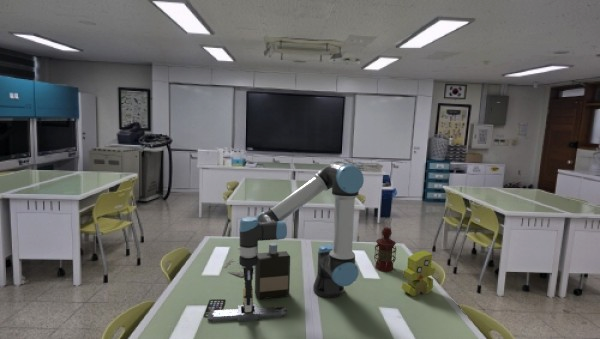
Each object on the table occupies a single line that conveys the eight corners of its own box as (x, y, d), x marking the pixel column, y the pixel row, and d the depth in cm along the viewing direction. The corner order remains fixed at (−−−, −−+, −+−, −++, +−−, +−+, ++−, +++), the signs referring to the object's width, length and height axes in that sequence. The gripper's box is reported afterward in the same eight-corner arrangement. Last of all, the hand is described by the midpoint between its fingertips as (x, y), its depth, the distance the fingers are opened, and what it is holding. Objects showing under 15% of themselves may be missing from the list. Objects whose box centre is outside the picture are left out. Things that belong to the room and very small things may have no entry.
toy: (409, 297, 177) (412, 257, 174) (401, 292, 182) (403, 253, 179) (433, 292, 183) (437, 253, 181) (425, 287, 188) (428, 249, 186)
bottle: (254, 292, 177) (254, 242, 173) (286, 289, 181) (287, 240, 178) (256, 300, 169) (257, 248, 166) (290, 296, 174) (291, 245, 170)
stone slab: (286, 263, 214) (286, 261, 214) (239, 279, 191) (239, 277, 191) (258, 251, 233) (258, 249, 233) (212, 264, 210) (212, 262, 210)
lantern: (386, 274, 203) (390, 221, 199) (369, 267, 212) (372, 216, 208) (399, 269, 211) (403, 218, 207) (381, 262, 220) (385, 213, 216)
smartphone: (203, 317, 153) (209, 299, 168) (203, 318, 153) (209, 300, 168) (220, 316, 154) (225, 299, 169) (220, 318, 154) (225, 300, 169)
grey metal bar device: (285, 308, 162) (285, 302, 162) (287, 318, 155) (287, 311, 154) (208, 313, 157) (208, 306, 156) (207, 323, 149) (207, 316, 148)
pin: (252, 313, 158) (252, 287, 156) (252, 318, 154) (253, 291, 152) (242, 313, 157) (243, 287, 155) (243, 318, 153) (243, 292, 151)
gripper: (239, 247, 161) (238, 297, 164) (239, 264, 142) (239, 320, 145) (256, 246, 162) (255, 296, 165) (258, 263, 143) (258, 318, 147)
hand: (247, 307), depth 155 cm, fingers open, 6 cm apart
